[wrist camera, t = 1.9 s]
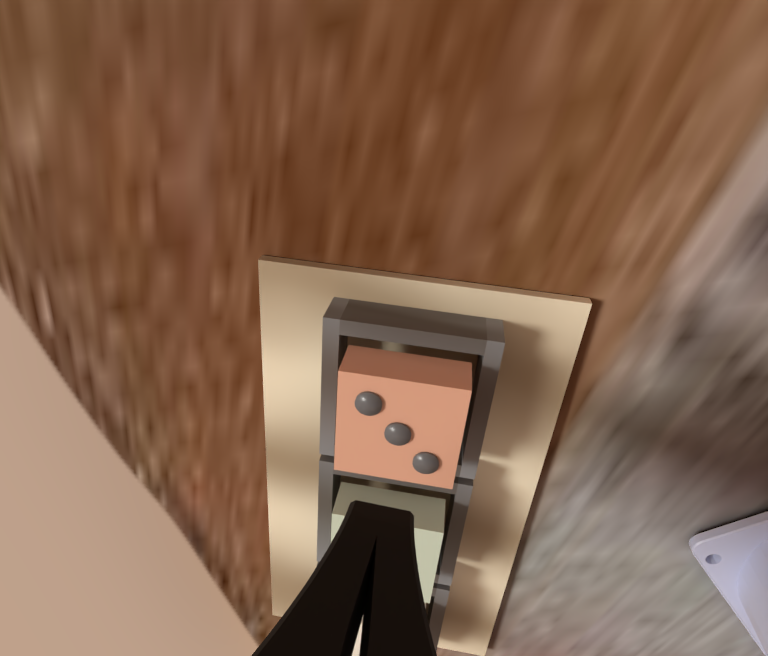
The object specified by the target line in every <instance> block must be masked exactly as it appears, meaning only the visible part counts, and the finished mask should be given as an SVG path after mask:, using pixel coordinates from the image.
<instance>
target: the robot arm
mask: <svg viewBox="0 0 768 656" xmlns="http://www.w3.org/2000/svg"><path fill="white" fill-rule="evenodd" d="M689 546H690V548H691V551H692V553H693V555H694V556H695V558H696V559H697V560H698V562H699V563H700V565H701V566H702V567H703V569H704V570H705V572H706V573H707V575H708V576H709V577H710V579H711V580H712V582H713V583H714V584H715V586H716V587H717V589H718V590H719V591H720V593H721V594H722V596H723V597H724V598H725V600H726V601H727V603H728V604H729V605H730V607H731V608H732V610H733V611H734V613H735V614H736V615H737V617H738V618H739V620H740V621H741V622H742V624H743V625H744V627H745V628H746V629H747V631H748V632H749V634H750V635H751V636H752V638H753V639H754V641H755V642H756V643H757V645H758V646H759V648H760V649H761V651H762V652H763V653H764V655H765V656H768V511H767V512H764V513H761V514H757V515H754V516H751V517H748V518H745V519H742V520H739V521H736V522H733V523H730V524H727V525H724V526H720V527H717V528H714V529H711V530H708V531H705V532H702V533H699V534H696V535H694V536H693V537H692V538H691V539H690V541H689ZM362 617H363V623H362V633H361V643H360V653H359V656H437V654H436V651H435V647H434V643H433V639H432V635H431V631H430V627H429V622H428V618H427V613H426V609H425V604H424V599H423V594H422V589H421V583H420V578H419V572H418V564H417V557H416V548H415V537H414V515H413V514H412V513H411V511H407V510H402V509H397V508H393V507H388V506H383V505H378V504H373V503H368V502H363V501H358V500H355V501H353V502H351V503H350V505H349V507H348V510H347V512H346V515H345V517H344V519H343V521H342V523H341V525H340V527H339V529H338V531H337V533H336V535H335V537H334V539H333V540H332V542H331V544H330V546H329V547H328V549H327V551H326V553H325V554H324V556H323V557H322V559H321V561H320V562H319V564H318V565H317V567H316V568H315V570H314V572H313V573H312V575H311V576H310V578H309V579H308V581H307V582H306V584H305V585H304V587H303V588H302V590H301V591H300V593H299V594H298V595H297V597H296V598H295V600H294V601H293V602H292V604H291V605H290V606H289V608H288V609H287V611H286V612H285V613H284V615H283V616H282V618H281V619H280V620H279V622H278V623H277V624H276V626H275V627H274V628H273V629H272V631H271V632H270V633H269V635H268V636H267V637H266V638H265V640H264V641H263V642H262V643H261V645H260V646H259V647H258V648H257V649H256V651H255V652H254V653H253V654H252V656H352V653H353V650H354V646H355V643H356V639H357V635H358V632H359V628H360V624H361V621H362Z"/></svg>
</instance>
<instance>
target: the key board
mask: <svg viewBox="0 0 768 656" xmlns="http://www.w3.org/2000/svg"><path fill="white" fill-rule="evenodd" d="M258 267H259V292H260V316H261V341H262V366H263V390H264V415H265V439H266V464H267V489H268V513H269V538H270V562H271V587H272V612H273V615H275V616H280V617H282V616H283V615H284V613H285V612H286V611H287V609H288V608H289V606H290V605H291V604H292V602H293V601H294V600H295V598H296V597H297V595H298V594H299V593H300V591H301V590H302V588H303V587H304V585H305V584H306V582H307V581H308V579H309V578H310V576H311V575H312V573H313V572H314V570H315V568H316V567H317V565H318V564H319V562H320V561H321V559H322V557H323V556H324V554H325V553H326V551H327V549H328V547H329V546H330V544H331V522H332V511H333V508H334V505H335V501H336V498H337V495H338V491H339V488H340V485H341V482H346V483H352V484H358V485H364V486H370V487H376V488H382V489H387V490H393V491H399V492H405V493H411V494H417V495H423V496H429V497H435V498H441V499H446V502H445V520H444V534H443V539H442V544H441V549H440V554H439V560H438V565H437V570H436V575H435V580H434V585H433V590H432V595H431V600H430V603H426V613H427V618H428V622H429V627H430V631H431V635H432V639H433V643H434V647H435V651H436V650H437V647H439V648H444V649H449V650H455V651H460V652H465V653H470V654H475V655H480V656H485V653H486V650H487V647H488V643H489V640H490V637H491V634H492V630H493V627H494V624H495V620H496V617H497V614H498V611H499V607H500V604H501V601H502V598H503V594H504V591H505V588H506V584H507V581H508V578H509V575H510V571H511V568H512V565H513V562H514V558H515V555H516V552H517V548H518V545H519V542H520V539H521V535H522V532H523V529H524V526H525V522H526V519H527V516H528V512H529V509H530V506H531V503H532V499H533V496H534V493H535V490H536V486H537V483H538V480H539V476H540V473H541V470H542V467H543V463H544V460H545V457H546V454H547V450H548V447H549V444H550V440H551V437H552V434H553V431H554V427H555V424H556V421H557V418H558V414H559V411H560V408H561V404H562V401H563V398H564V395H565V391H566V388H567V385H568V382H569V378H570V375H571V372H572V368H573V365H574V362H575V359H576V355H577V352H578V349H579V346H580V342H581V339H582V336H583V332H584V329H585V326H586V323H587V319H588V316H589V313H590V310H591V306H592V302H591V300H590V298H585V297H577V296H569V295H562V294H554V293H547V292H539V291H531V290H524V289H516V288H509V287H501V286H493V285H486V284H478V283H470V282H463V281H455V280H448V279H440V278H432V277H425V276H417V275H410V274H402V273H394V272H387V271H379V270H372V269H364V268H356V267H349V266H341V265H334V264H326V263H318V262H311V261H303V260H296V259H288V258H280V257H273V256H265V255H262V256H261V257H260V258H259V259H258ZM348 345H354V346H360V347H367V348H374V349H381V350H388V351H395V352H402V353H409V354H415V355H422V356H429V357H436V358H443V359H450V360H457V361H464V362H471V363H472V393H471V398H470V403H469V408H468V413H467V418H466V423H465V428H464V433H463V438H462V443H461V448H460V454H459V459H458V464H457V469H456V474H455V479H454V484H453V489H447V488H441V487H435V486H429V485H423V484H417V483H411V482H405V481H399V480H393V479H387V478H381V477H375V476H370V475H364V474H358V473H352V472H346V471H340V470H334V454H335V431H336V408H337V386H338V370H339V367H340V365H341V363H342V360H343V358H344V355H345V353H346V350H347V348H348Z"/></svg>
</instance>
